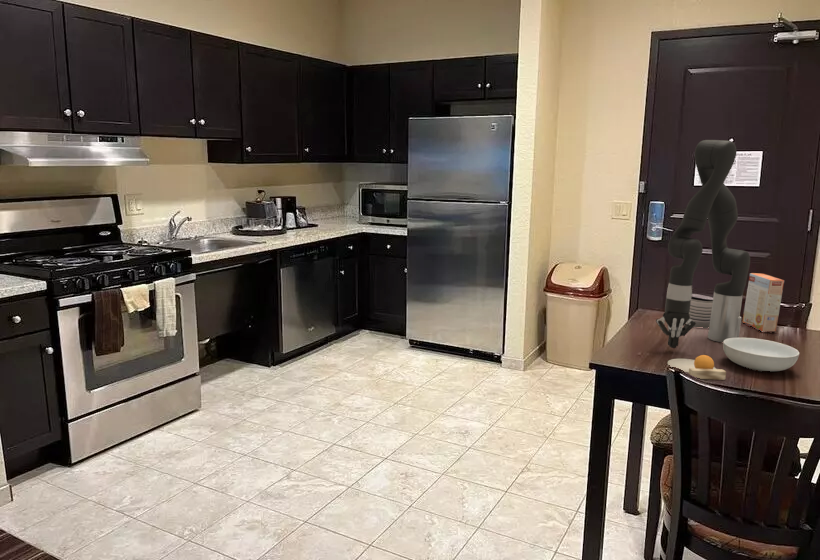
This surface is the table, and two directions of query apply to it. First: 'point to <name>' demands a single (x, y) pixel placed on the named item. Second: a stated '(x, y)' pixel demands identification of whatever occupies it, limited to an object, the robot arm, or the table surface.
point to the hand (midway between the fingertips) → (672, 347)
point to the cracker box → (763, 301)
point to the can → (701, 310)
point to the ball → (704, 362)
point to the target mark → (682, 364)
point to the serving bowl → (760, 354)
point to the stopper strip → (708, 373)
